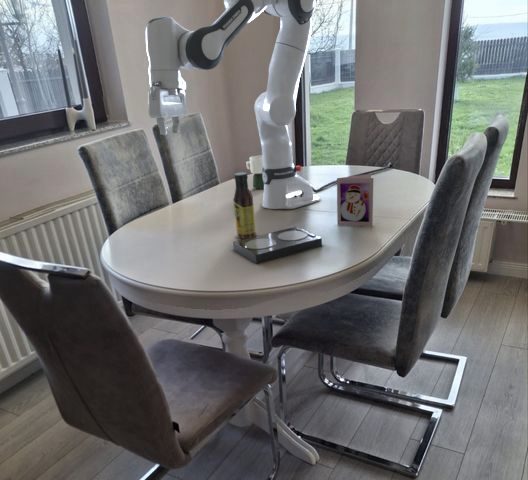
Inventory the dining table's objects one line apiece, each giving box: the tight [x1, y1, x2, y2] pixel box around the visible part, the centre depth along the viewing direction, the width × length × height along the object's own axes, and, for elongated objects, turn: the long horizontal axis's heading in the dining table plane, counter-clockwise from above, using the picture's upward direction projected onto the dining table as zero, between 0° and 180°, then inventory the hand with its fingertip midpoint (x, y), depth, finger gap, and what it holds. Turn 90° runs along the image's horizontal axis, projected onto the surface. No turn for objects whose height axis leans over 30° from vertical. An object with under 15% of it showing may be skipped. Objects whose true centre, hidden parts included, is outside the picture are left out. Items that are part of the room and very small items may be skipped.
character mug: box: [245, 154, 264, 189], centre depth 220 cm, size 11×7×13 cm, turn 71°
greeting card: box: [336, 173, 374, 227], centre depth 163 cm, size 11×7×15 cm, turn 68°
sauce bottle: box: [232, 171, 257, 240], centre depth 159 cm, size 7×6×20 cm
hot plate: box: [232, 226, 323, 264], centre depth 151 cm, size 22×15×3 cm
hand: (170, 134), depth 154 cm, fingers open, 8 cm apart
